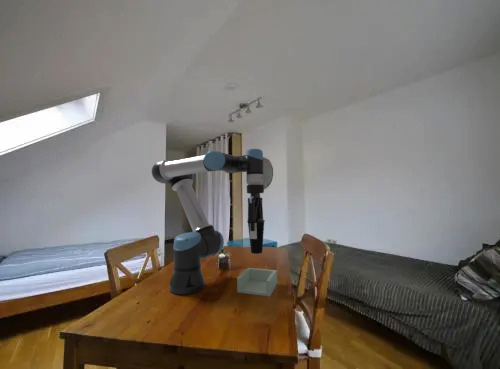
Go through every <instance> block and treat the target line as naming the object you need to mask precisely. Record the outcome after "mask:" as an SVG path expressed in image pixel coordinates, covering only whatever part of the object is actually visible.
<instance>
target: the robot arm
mask: <svg viewBox="0 0 500 369" xmlns="http://www.w3.org/2000/svg"><path fill="white" fill-rule="evenodd" d="M245 151H246V152H245V154H244V155H238V156H237V155H233V154H228V153H224V152H221V151H218V150H210V151H207V152H206V153H205V154H202V155H197V156H191V157H186V158H181V159H176V160H168V159H164V160H159V161H157V162H155V163H154V164H153V165H152V168H151V175H152V177H153V179H154V180H155V181H156V182H158V183H160V184H167V185H168V184H169V185H170V188H171V190H172V191H175V192H176V193H177V196H178V200H179V201H180V203H181V206H182V208H183V211H184V213H185V215H186V218H187V220H188V223H189V225H190V227H191V230H192V231H190V232H183V233H181V234H179V235H177V236H175V238H174V240H173V272H172V276H171V279H170V281H169V288H168V289H169V290H168V291H169V292H170V293H172V294H174V295H190V294H196V293H199V292H200V291H202V290H204V289H205V287H206V280H205V278H204V274H203V272H202V260H204V259H206V258H210V257H214V256H215V255H217V254H219V253H220V252H222V250H223V247H224V245H225V243H224V242H225V241H224V240H225V239H224V236H223V234H222V232H220V231H218V230H215V227H214V225H213V224H210V223H209V221H208V219H207V217H206V215H205V212H204V210H203V208H202V206H201V203H200V201H199V199H198V196H197V194H196V192H195V189H194V188H193V183H194V178H195V177H194V176H195V175H196V174H203V173H209V172H216V171H222V172H225V173H226V174H237V173H246V175H245V177H246V184H247V185H246V193H247V194H250V197H248V198H247V221H248V222H247V224H248V223H250V237H249V240H250V239H257V223H256V212H257V218H260V219H263V220H265V219H264V209H263V197H261V194H264V192H265V185H264V183H265V182H264V179H265V176H264V153H263V152H264V151H263V150H262V149H260V148H249V149H247V150H245Z"/></svg>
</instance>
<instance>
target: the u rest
mask: <svg viewBox="0 0 500 369" xmlns="http://www.w3.org/2000/svg"><path fill="white" fill-rule="evenodd" d="M236 278H237V279H236V283H237V284H236V288H237V290H236V291H237V293H239V294H247V295H253V296H254V295H255V296H256V295H257V296H262V297H263V296H264V297H271V295H273V294H272V293H273V292H274V290H275V288H276V286H277V284H278V270H275V269H268V268H267V269H265V268H256V267H255V268H254V267H253V268H252V267H247V268H246V269H245V270H244V271H242V273H240V274H239V275H238V276H237V277H236Z"/></svg>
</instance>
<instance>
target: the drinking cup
mask: <svg viewBox="0 0 500 369" xmlns="http://www.w3.org/2000/svg"><path fill="white" fill-rule="evenodd" d="M263 219H264V218H263ZM263 219H260V218H257V212H256V223H257V239H250V223H248V220H247V221H246V222H247V226H248V234H249V245H250V253H251V254H254V255H255V254H257V255H258V254H262V253H263V247H264V231H265V222H266V220H265V219H264V220H263Z"/></svg>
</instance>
